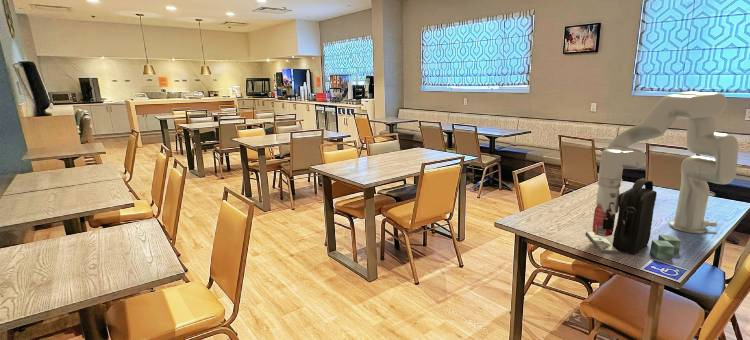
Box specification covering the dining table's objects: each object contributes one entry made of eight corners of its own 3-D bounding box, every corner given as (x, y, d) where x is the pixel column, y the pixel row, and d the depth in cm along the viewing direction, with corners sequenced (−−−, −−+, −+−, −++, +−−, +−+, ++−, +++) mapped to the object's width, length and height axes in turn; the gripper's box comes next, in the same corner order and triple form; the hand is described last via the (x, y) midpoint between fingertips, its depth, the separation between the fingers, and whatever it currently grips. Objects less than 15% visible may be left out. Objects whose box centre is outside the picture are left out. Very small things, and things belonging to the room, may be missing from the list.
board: (600, 234, 159) (600, 232, 159) (617, 253, 142) (618, 250, 142) (585, 233, 160) (586, 231, 160) (601, 252, 143) (601, 249, 143)
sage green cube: (664, 253, 142) (667, 241, 141) (672, 259, 137) (674, 246, 136) (649, 252, 143) (652, 240, 142) (656, 258, 138) (658, 245, 137)
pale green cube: (671, 247, 146) (673, 235, 145) (678, 253, 142) (681, 240, 140) (657, 246, 147) (659, 234, 146) (663, 252, 143) (665, 239, 142)
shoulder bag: (632, 261, 137) (645, 187, 130) (605, 253, 143) (615, 181, 137) (652, 244, 151) (664, 175, 144) (626, 237, 157) (637, 171, 151)
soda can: (608, 231, 153) (612, 202, 150) (615, 238, 146) (619, 208, 143) (589, 230, 154) (592, 202, 151) (595, 237, 148) (599, 207, 145)
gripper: (629, 188, 136) (623, 234, 140) (611, 176, 153) (605, 218, 157) (606, 187, 138) (600, 233, 142) (590, 175, 154) (585, 217, 158)
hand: (603, 225), depth 149 cm, fingers closed on soda can, 7 cm apart
